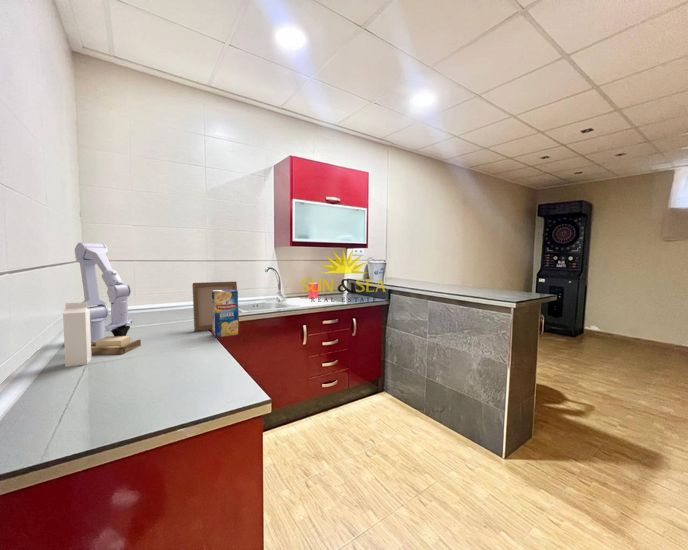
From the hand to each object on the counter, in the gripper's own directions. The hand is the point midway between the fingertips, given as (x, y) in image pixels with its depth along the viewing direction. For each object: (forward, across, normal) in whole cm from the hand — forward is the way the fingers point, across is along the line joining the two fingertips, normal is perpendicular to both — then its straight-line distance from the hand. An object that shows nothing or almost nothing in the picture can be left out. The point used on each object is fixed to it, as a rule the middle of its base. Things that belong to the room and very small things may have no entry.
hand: (120, 343), depth 127 cm
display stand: (+1, -4, 0) cm, 5 cm away
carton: (+1, -5, -1) cm, 6 cm away
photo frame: (+1, +34, -28) cm, 44 cm away
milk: (+1, -20, +1) cm, 21 cm away
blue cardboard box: (+1, +18, -38) cm, 42 cm away
